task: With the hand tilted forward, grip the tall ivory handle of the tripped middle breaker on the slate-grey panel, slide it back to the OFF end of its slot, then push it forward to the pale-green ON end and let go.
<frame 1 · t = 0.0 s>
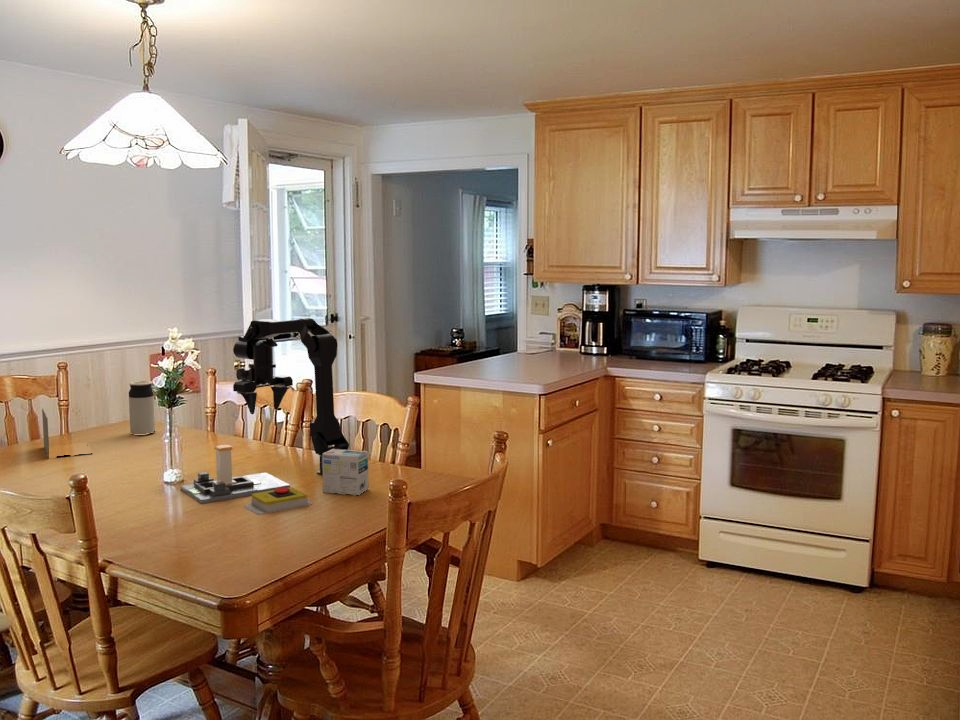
hand: (264, 411, 258), 15 cm above the table, tool pointing down, fingers open, 9 cm apart
emergency button: (278, 507, 213), on the table
light bulb box: (345, 492, 226), on the table
breaker panel: (235, 488, 227), on the table
laptop: (68, 452, 268), on the table
travel mug: (142, 434, 294), on the table
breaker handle: (224, 466, 224), point 7 cm above the table, slide at 0.0 cm
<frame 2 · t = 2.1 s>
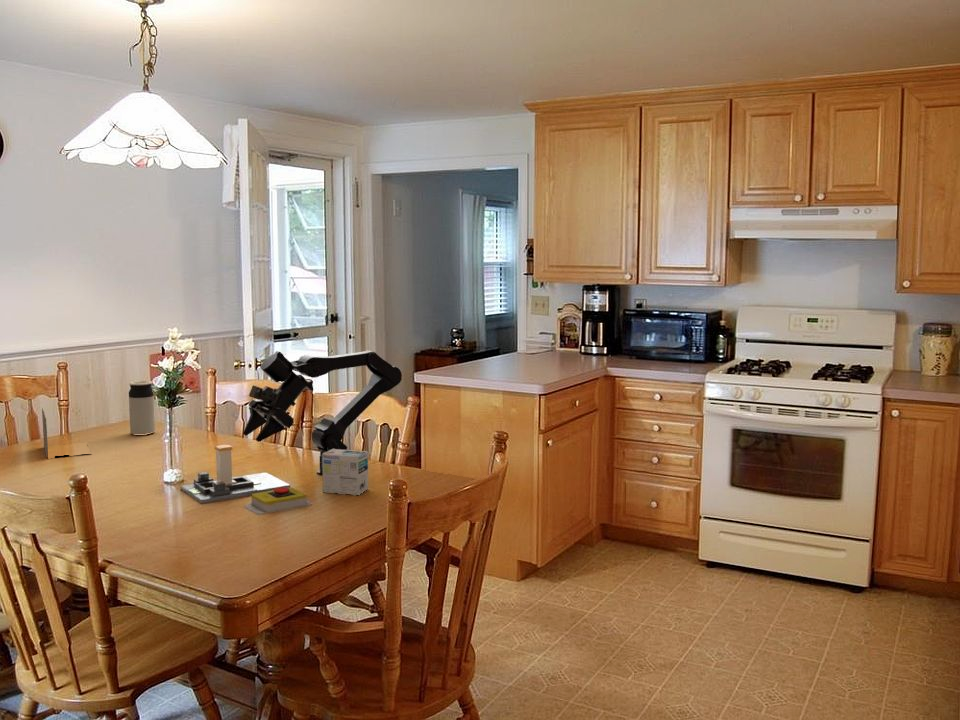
hand: (250, 437, 228), 13 cm above the table, tool tilted 45°, fingers open, 9 cm apart
nothing on the table moved.
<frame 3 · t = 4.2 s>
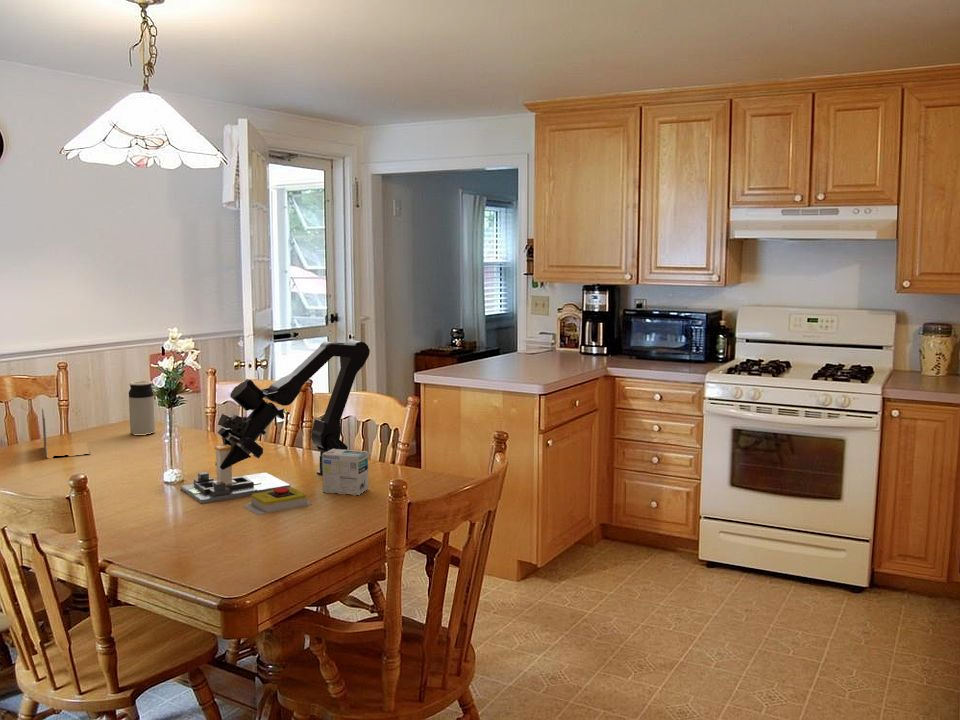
hand: (218, 467, 223), 7 cm above the table, tool tilted 45°, fingers closed on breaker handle, 3 cm apart
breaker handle: (224, 466, 224), point 7 cm above the table, slide at 0.0 cm, touching gripper
everything else where it was.
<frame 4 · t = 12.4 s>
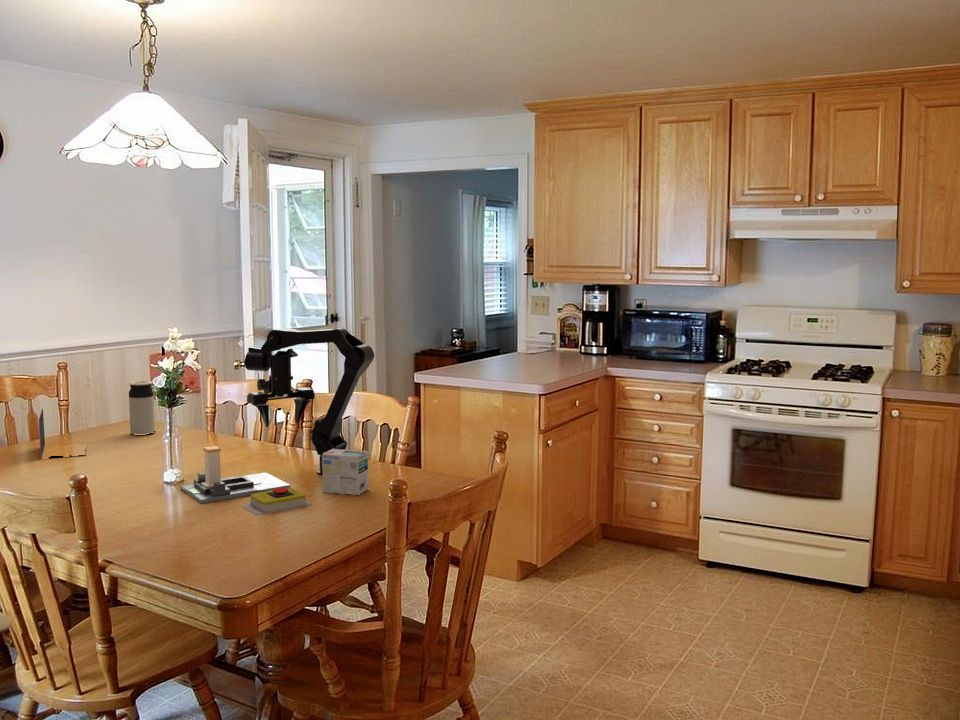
hand: (281, 425, 246), 13 cm above the table, tool pointing down, fingers open, 9 cm apart
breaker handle: (212, 467, 222), point 7 cm above the table, slide at 3.0 cm
at the end: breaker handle slide at 3.0 cm; the gripper is holding nothing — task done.
